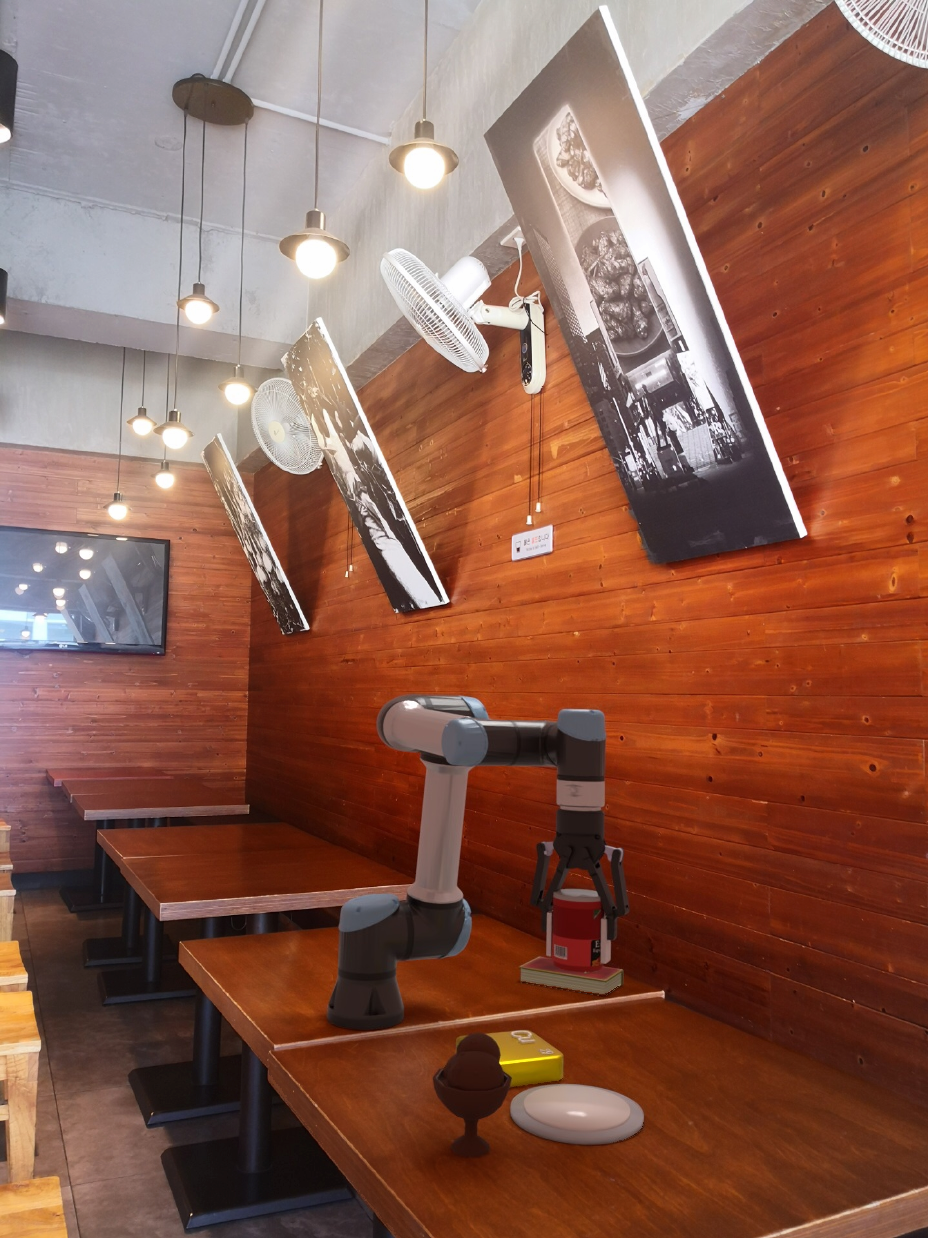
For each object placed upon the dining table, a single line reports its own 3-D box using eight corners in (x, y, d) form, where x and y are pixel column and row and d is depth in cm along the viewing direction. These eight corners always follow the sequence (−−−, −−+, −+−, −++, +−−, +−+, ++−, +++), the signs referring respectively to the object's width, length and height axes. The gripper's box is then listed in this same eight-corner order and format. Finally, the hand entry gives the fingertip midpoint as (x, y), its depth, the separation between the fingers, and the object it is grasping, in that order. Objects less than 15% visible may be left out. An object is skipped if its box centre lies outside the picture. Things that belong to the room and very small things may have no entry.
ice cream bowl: (428, 1132, 138) (431, 1024, 139) (505, 1132, 139) (508, 1024, 140) (432, 1166, 127) (435, 1049, 129) (515, 1166, 128) (518, 1049, 130)
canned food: (602, 974, 143) (603, 899, 144) (549, 970, 144) (550, 895, 146) (605, 962, 150) (606, 890, 151) (554, 958, 152) (555, 887, 153)
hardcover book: (539, 973, 230) (540, 955, 230) (623, 987, 220) (623, 968, 220) (518, 984, 219) (518, 965, 220) (605, 999, 209) (605, 979, 210)
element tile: (451, 1062, 168) (452, 1033, 169) (529, 1053, 173) (529, 1026, 174) (484, 1093, 154) (485, 1062, 155) (567, 1083, 160) (568, 1053, 160)
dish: (489, 1126, 140) (489, 1116, 140) (537, 1082, 158) (538, 1072, 158) (622, 1156, 132) (623, 1144, 132) (657, 1105, 150) (657, 1095, 150)
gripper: (509, 805, 151) (506, 954, 149) (639, 814, 142) (638, 972, 140) (527, 802, 158) (524, 944, 155) (652, 810, 149) (651, 961, 146)
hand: (578, 957), depth 148 cm, fingers closed on canned food, 8 cm apart
